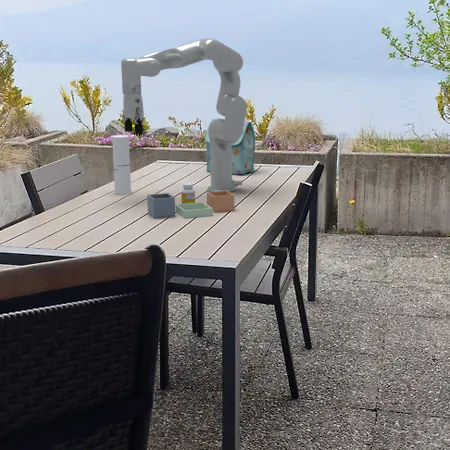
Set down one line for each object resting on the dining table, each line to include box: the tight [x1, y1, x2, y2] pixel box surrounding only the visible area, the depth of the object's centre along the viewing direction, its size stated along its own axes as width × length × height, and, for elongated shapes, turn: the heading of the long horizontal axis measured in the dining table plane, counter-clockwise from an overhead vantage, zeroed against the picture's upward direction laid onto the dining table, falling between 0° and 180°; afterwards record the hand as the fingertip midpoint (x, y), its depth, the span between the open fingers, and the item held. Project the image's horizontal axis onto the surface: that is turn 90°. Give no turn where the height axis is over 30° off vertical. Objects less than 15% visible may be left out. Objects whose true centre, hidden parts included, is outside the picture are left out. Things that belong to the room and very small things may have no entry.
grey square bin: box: [146, 192, 176, 219], centre depth 256 cm, size 8×8×8 cm
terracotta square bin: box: [206, 191, 235, 213], centre depth 264 cm, size 8×8×7 cm
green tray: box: [175, 201, 214, 219], centre depth 258 cm, size 11×11×4 cm
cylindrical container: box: [111, 134, 132, 195], centre depth 296 cm, size 7×7×25 cm
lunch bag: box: [205, 118, 256, 175], centre depth 342 cm, size 23×16×27 cm
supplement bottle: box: [180, 182, 196, 204], centre depth 270 cm, size 5×5×10 cm
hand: (133, 132), depth 276 cm, fingers open, 9 cm apart
